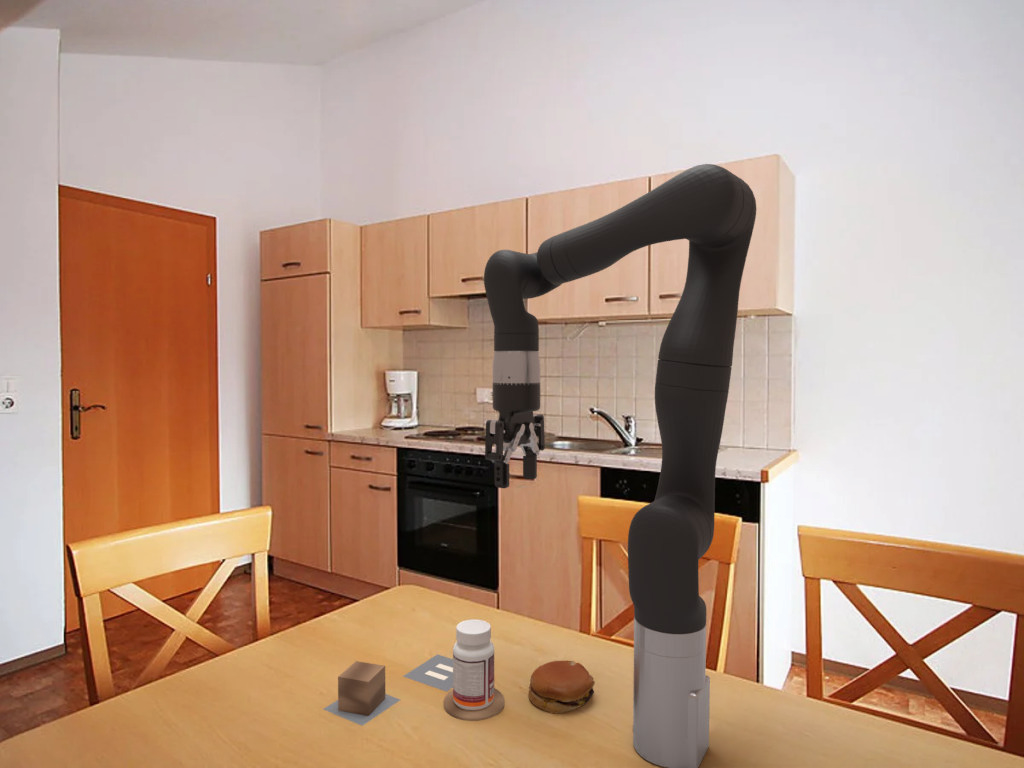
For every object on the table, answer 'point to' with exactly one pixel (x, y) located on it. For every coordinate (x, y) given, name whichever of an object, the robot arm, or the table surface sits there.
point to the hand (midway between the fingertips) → (516, 483)
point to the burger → (560, 686)
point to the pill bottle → (473, 665)
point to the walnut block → (361, 688)
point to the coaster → (474, 714)
